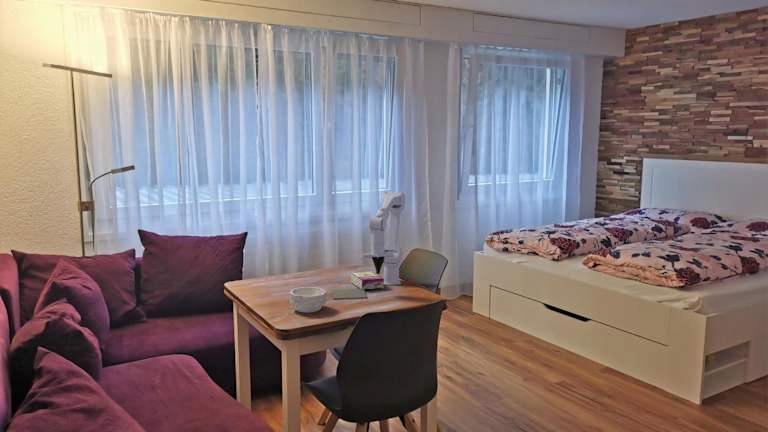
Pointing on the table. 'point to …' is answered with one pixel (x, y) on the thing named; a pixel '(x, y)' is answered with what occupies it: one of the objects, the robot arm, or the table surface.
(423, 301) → the table surface
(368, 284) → the candy bar box
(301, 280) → the table surface
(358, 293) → the mat
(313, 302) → the paper bowls
